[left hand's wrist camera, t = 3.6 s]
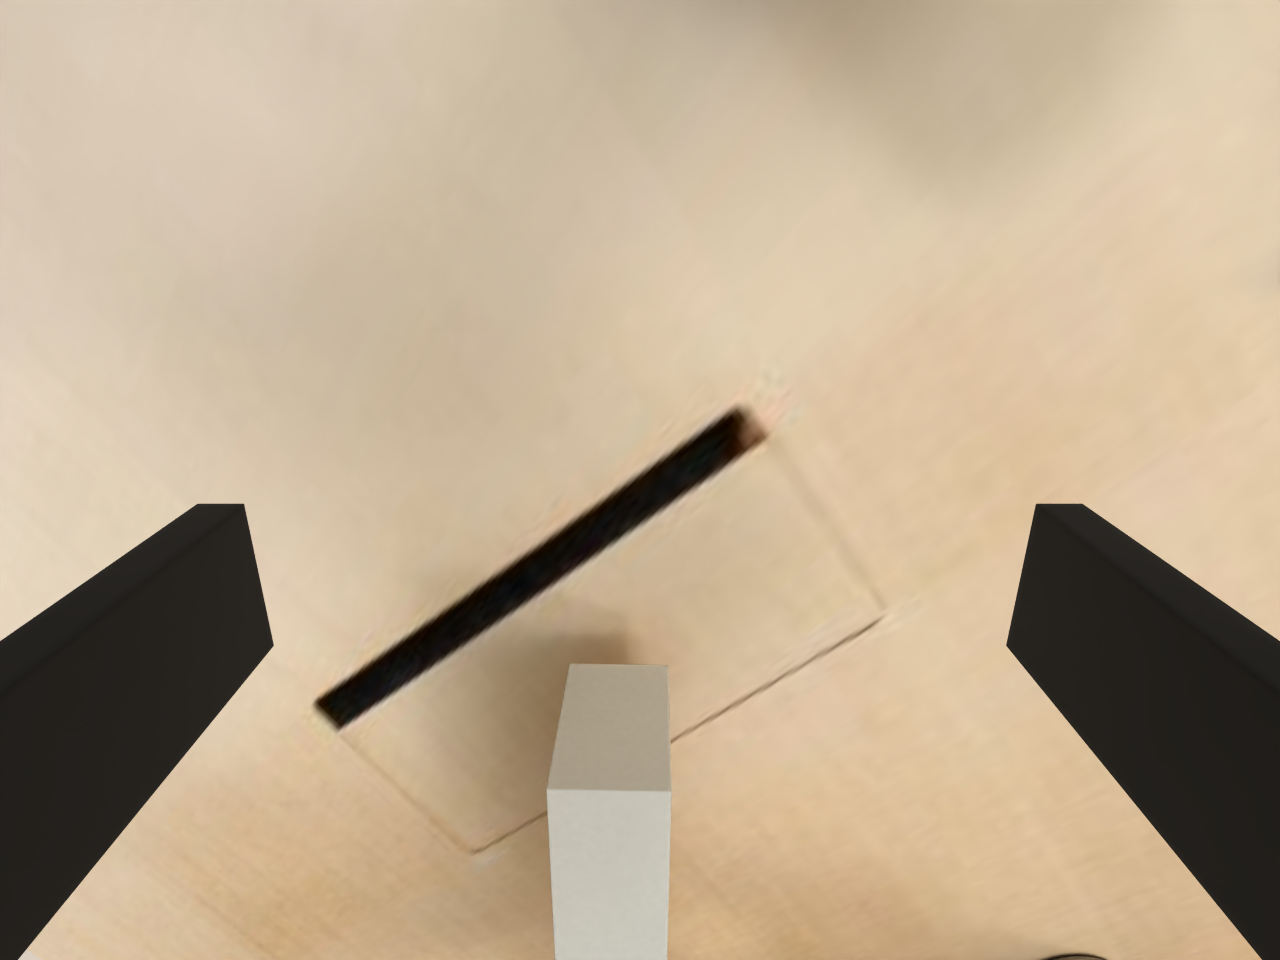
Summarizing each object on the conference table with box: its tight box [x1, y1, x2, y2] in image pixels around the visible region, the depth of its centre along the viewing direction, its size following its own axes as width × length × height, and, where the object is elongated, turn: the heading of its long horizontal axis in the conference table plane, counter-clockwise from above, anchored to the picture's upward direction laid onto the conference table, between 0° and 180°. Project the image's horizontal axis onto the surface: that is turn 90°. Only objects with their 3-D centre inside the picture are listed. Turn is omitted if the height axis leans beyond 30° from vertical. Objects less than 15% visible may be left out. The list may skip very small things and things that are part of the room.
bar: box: [546, 663, 671, 960], centre depth 41 cm, size 25×5×9 cm, turn 0°
